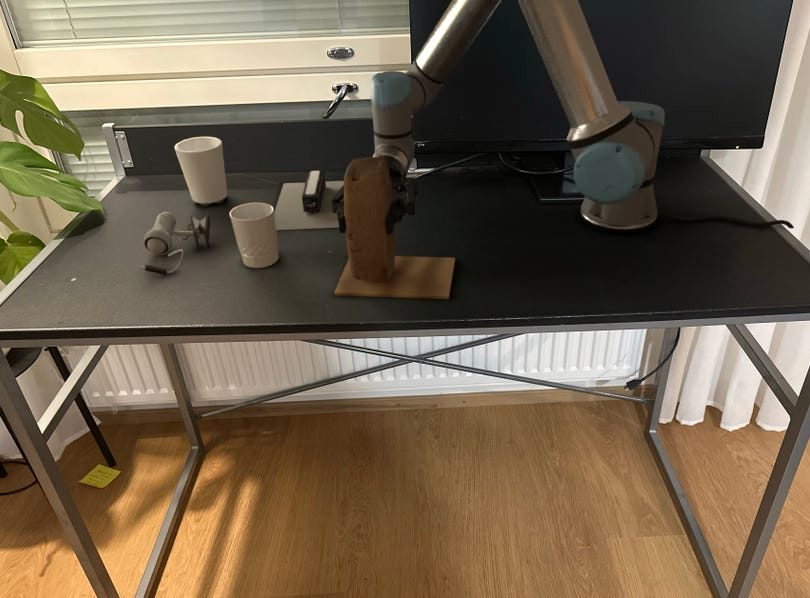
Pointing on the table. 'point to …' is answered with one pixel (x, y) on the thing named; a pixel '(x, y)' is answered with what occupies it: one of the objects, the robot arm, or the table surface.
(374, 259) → the block
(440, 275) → the cork mat
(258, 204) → the white cup
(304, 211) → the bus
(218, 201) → the cup
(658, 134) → the robot arm
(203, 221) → the clip-on lamp
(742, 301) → the table surface
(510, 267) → the table surface
